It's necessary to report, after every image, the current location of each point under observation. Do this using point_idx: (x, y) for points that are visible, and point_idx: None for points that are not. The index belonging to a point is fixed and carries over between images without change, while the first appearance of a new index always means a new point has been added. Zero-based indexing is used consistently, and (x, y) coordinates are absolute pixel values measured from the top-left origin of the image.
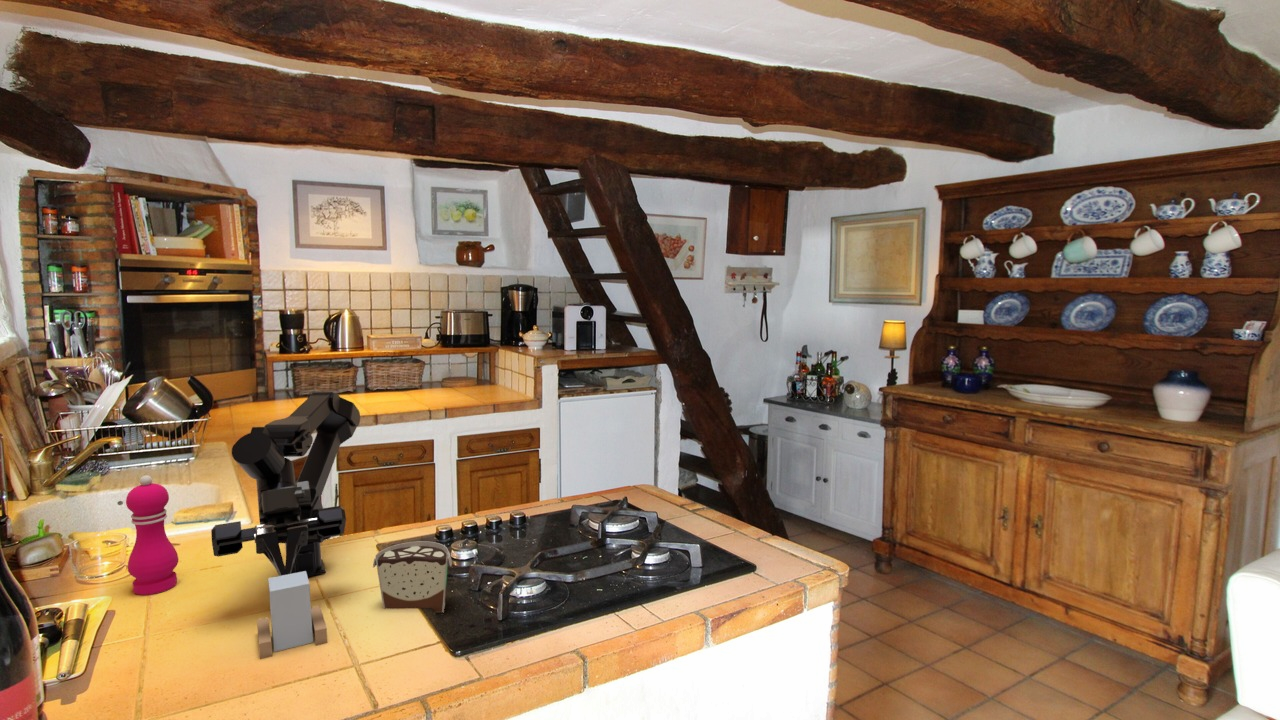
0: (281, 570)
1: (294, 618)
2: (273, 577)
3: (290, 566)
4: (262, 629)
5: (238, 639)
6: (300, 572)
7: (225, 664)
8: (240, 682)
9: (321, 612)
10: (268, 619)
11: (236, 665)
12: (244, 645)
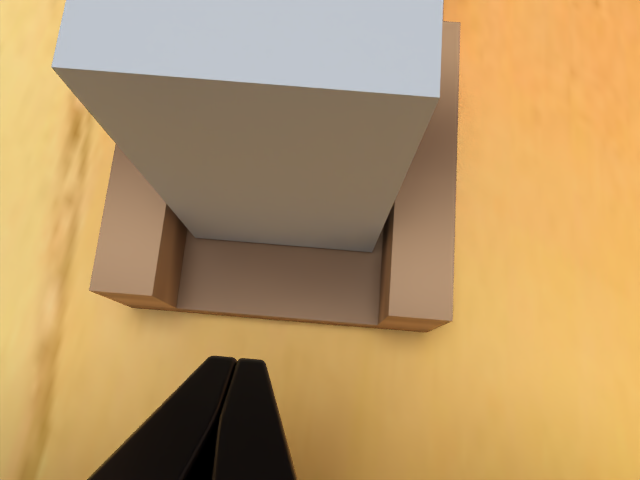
0: (260, 416)
1: None
2: (386, 90)
3: (150, 428)
4: (432, 171)
5: (514, 400)
6: (112, 60)
7: (568, 178)
8: (512, 5)
9: (110, 190)
10: (390, 280)
11: (525, 143)
12: (489, 313)
